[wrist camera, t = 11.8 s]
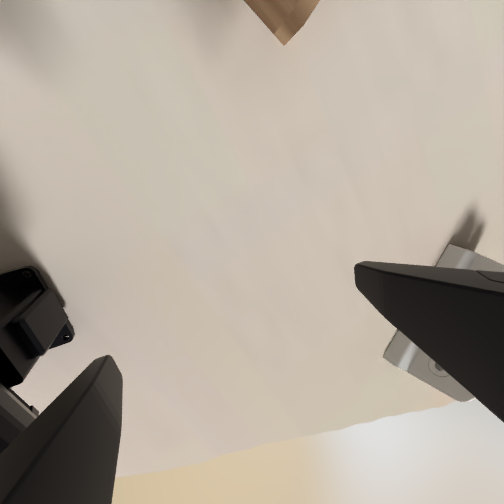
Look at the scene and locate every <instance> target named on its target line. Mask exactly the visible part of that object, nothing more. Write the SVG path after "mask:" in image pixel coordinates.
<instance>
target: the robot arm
mask: <svg viewBox="0 0 504 504" xmlns="http://www.w3.org/2000/svg"><path fill="white" fill-rule="evenodd" d="M25 271H28V272H30V273H31V276H28V275H26V274H25ZM354 273H355V284H356V287H357V288H358V290H359V291H360V292H361V293H362V294H363V295H364V296H365V297H366V298H367V299H368V301H369V302H370V303H371V304H372V305H373V306H374V307H375V308H376V309H377V310H378V311H379V312H380V313H381V314H382V315H383V316H384V317H385V318H386V319H387V320H388V321H389V322H390V323H391V324H392V325H394V326H395V327H396V328H397V329H398V330H399V331H400V332H401V333H403V334H404V335H405V336H406V337H407V338H408V339H409V340H411V341H412V342H413V343H414V344H415V345H416V346H417V347H419V348H420V349H421V350H422V351H423V352H424V353H425V354H426V355H428V356H429V357H430V358H431V359H432V360H433V361H434V362H436V363H437V364H438V365H439V366H440V367H441V368H442V369H444V370H445V371H446V372H447V373H448V374H449V375H450V376H451V377H453V378H454V379H455V380H456V381H457V382H458V383H459V384H461V385H462V386H463V387H464V388H465V389H466V390H467V391H468V392H470V393H471V394H472V395H473V396H474V397H475V398H476V399H478V400H479V401H480V402H481V403H482V404H483V405H485V406H486V407H487V408H488V409H489V410H490V411H491V412H492V413H493V414H495V415H496V416H497V417H498V418H499V419H501V421H503V422H504V272H496V271H483V270H475V271H474V270H470V269H458V268H445V267H433V266H421V265H408V264H396V263H384V262H371V261H363V262H360V263H358V264H356V265H355V267H354ZM67 320H68V316H67V314H66V313H65V311H64V309H63V308H62V306H61V304H60V303H59V301H58V299H57V297H56V296H55V294H54V292H53V291H51V290H49V289H48V287H47V285H46V284H45V282H44V280H43V278H42V277H41V275H40V273H39V272H38V270H37V269H36V268H35V267H33V266H24V267H21V268H17V269H14V270H10V271H6V272H3V273H0V504H111V503H112V495H113V488H114V481H115V474H116V466H117V459H118V452H119V444H120V437H121V426H122V388H123V379H122V375H121V372H120V370H119V369H118V367H117V365H116V363H115V361H114V360H113V358H112V357H111V356H110V355H105V356H103V357H100V358H97V359H95V360H94V361H93V362H92V363H91V364H90V365H89V366H88V367H87V368H86V369H85V370H84V371H83V372H82V373H81V374H80V375H79V376H78V377H77V378H76V379H75V380H74V381H73V382H72V383H71V384H70V385H69V386H68V387H67V388H66V389H65V390H64V391H63V392H62V393H61V394H60V395H59V396H58V397H57V398H56V399H55V400H54V401H53V402H52V403H51V404H50V405H49V406H48V407H47V408H46V409H45V410H44V411H43V412H42V413H41V414H40V415H39V411H38V410H37V409H36V408H35V407H34V406H29V405H28V404H27V403H26V402H25V401H23V400H22V399H21V398H20V397H19V396H18V395H17V394H16V393H15V392H14V391H13V390H12V389H11V388H12V387H13V386H15V385H18V384H21V383H22V382H23V381H24V379H25V378H26V376H27V375H28V373H29V372H30V371H31V369H32V368H33V366H34V365H35V363H36V362H37V360H38V359H39V357H40V356H43V355H44V354H45V353H46V352H47V350H48V349H51V348H54V347H57V346H60V345H63V344H66V343H69V342H70V341H72V339H73V338H74V335H75V333H74V331H73V329H72V327H71V326H70V324H69V322H68V321H67ZM64 335H68V336H69V337H65V336H64ZM38 415H39V416H38Z"/></svg>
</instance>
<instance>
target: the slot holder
mask: <svg viewBox="0 0 504 504" xmlns="http://www.w3.org/2000/svg"><path fill="white" fill-rule="evenodd" d="M244 1H245V2H246V3H247V4H248V5H249V6H250V8H251V9H252V10H253V11H254V12H255V13H256V14H257V16H258V17H259V18H260V19H261V20H262V21H263V22H264V24H265V25H266V26H267V27H268V28H269V29H270V30H271V31H272V33H273V34H274V35H275V36H276V37H277V38H278V39H279V41H280V42H281V43H282V44H283V45H285V44H286V43H287V42H288V41H289V40H290V39H291V38H292V37H293V36H294V35H295V34H296V33H297V32H298V31H299V29H300V28H301V27H302V26H303V25H304V24H305V22H306V21H307V19H308V18H309V16H310V15H311V13H312V12H313V10H314V9H315V7H316V5H317V4H318V2H319V1H320V0H244Z"/></svg>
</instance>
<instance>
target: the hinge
mask: <svg viewBox="0 0 504 504" xmlns="http://www.w3.org/2000/svg"><path fill="white" fill-rule="evenodd" d="M436 267H445V268H458V269H470V270H474V271H475V270H483V271H496V272H504V265H502V264H500V263H498V262H496V261H493V260H491V259H489V258H487V257H484V256H482V255H480V254H478V253H476V252H473V251H471V250H469V249H464V248H461V247H458V246H455V245H451V244H449V245H448V246H447V248H446V250H445V251H444V253H443V255H442V257H441V258H440V260H439V262H438V263H437V265H436ZM383 358H385V359H386V360H387V361H389V362H390V363H392V364H393V365H394V366H396V367H398V368H400V369H402V370H404V371H406V372H408V373H410V374H411V375H413V376H415V377H417V378H418V379H420V380H422V381H424V382H425V383H427V384H429V385H431V386H432V387H434V388H436V389H438V390H439V391H441V392H443V393H444V394H446V395H448V396H450V397H451V398H453V399H455V400H457V401H460V402H469V401H472V400H474V399H476V398H475V397H474V396H473V395H472V394H471V393H470V392H468V391H467V390H466V389H465V388H464V387H463V386H462V385H461V384H459V383H458V382H457V381H456V380H455V379H454V378H453V377H451V376H450V375H449V374H448V373H447V372H446V371H445V370H444V369H442V368H441V367H440V366H439V365H438V364H437V363H436V362H434V361H433V360H432V359H431V358H430V357H429V356H428V355H426V354H425V353H424V352H423V351H422V350H421V349H420V348H419V347H417V346H416V345H415V344H414V343H413V342H412V341H411V340H409V339H408V338H407V337H406V336H405V335H404V334H403V333H401V332H400V331H399V330H398V332H397V333H396V335H395V337H394V338H393V340H392V342H391V344H390V345H389V347H388V349H387V350H386V352H385V354H384V355H383Z"/></svg>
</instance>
